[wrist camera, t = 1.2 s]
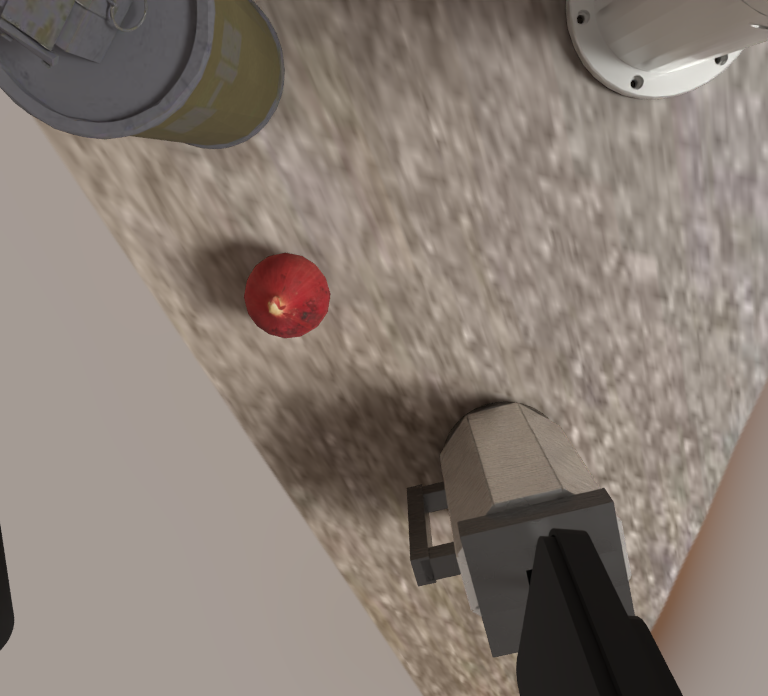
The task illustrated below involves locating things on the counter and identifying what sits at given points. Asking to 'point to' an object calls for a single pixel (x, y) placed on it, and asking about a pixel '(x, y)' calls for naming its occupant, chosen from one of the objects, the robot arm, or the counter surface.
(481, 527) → the french press
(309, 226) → the counter surface
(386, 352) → the counter surface
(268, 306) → the onion
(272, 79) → the canister
